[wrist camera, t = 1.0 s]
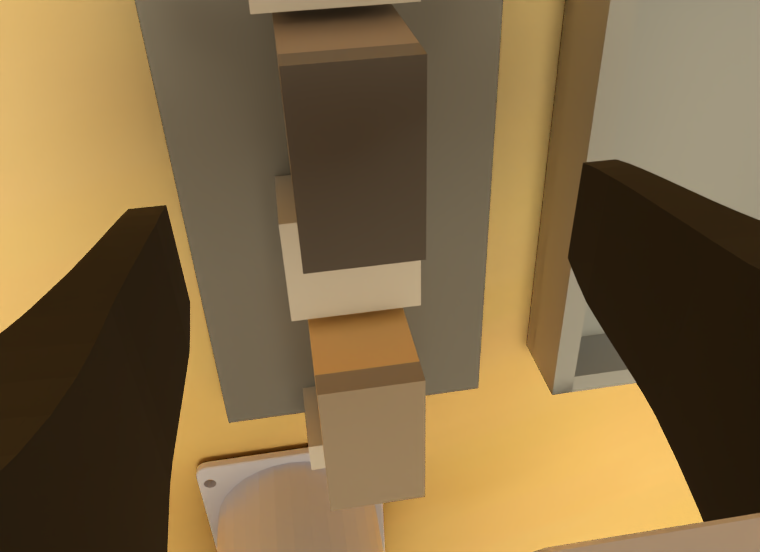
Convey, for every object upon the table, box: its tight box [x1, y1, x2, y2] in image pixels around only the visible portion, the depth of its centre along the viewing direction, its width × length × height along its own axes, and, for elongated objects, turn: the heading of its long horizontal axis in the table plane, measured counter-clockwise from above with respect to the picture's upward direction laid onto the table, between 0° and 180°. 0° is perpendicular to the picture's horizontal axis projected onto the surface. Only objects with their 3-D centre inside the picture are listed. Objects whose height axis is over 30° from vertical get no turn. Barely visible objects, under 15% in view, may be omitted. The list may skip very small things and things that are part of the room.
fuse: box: [308, 308, 426, 511], centre depth 23 cm, size 5×3×6 cm, turn 2°
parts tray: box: [527, 0, 760, 395], centre depth 24 cm, size 16×11×3 cm
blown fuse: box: [272, 4, 427, 274], centre depth 18 cm, size 5×3×6 cm, turn 2°
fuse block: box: [135, 0, 503, 470], centre depth 22 cm, size 10×17×4 cm, turn 2°
